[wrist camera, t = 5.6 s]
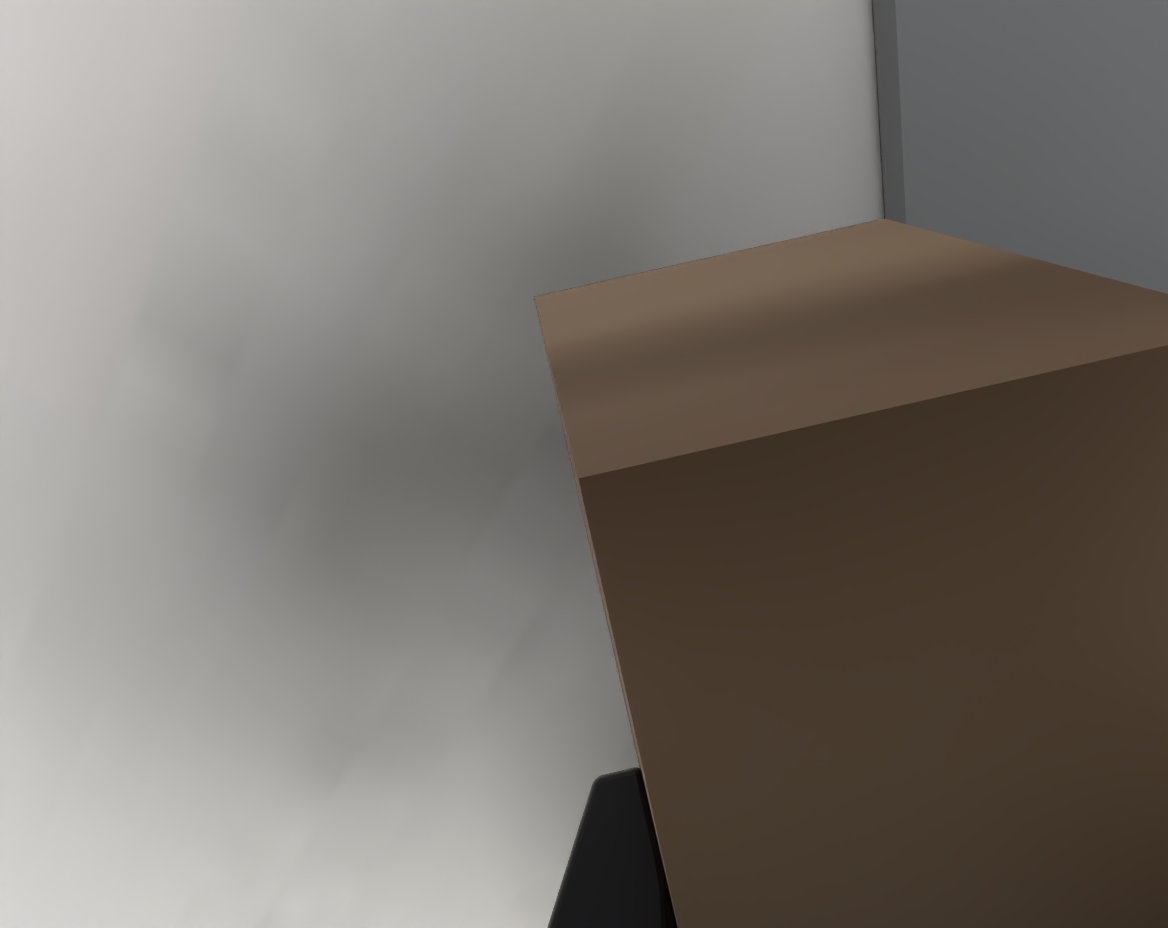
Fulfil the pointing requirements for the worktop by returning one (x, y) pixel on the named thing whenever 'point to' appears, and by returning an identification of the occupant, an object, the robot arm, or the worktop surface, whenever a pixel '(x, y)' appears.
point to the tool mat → (1030, 128)
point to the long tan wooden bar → (883, 577)
